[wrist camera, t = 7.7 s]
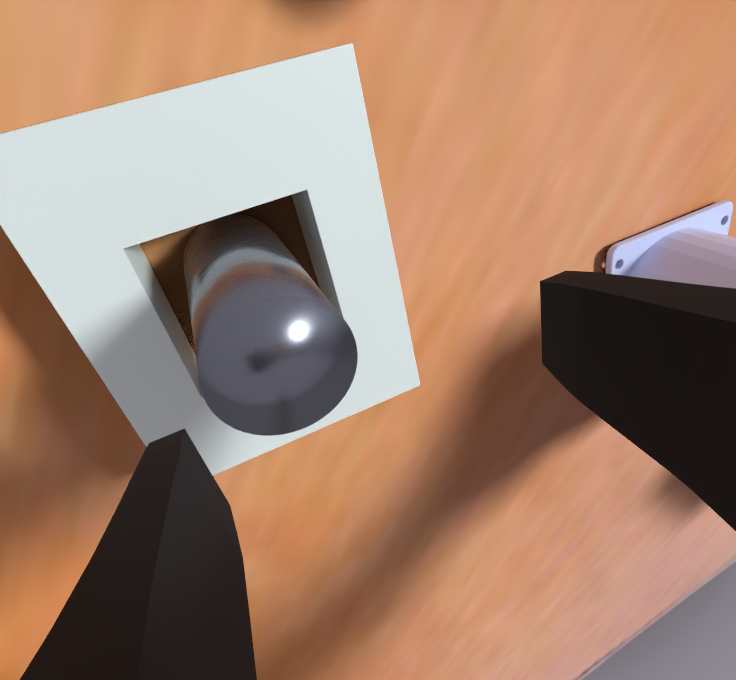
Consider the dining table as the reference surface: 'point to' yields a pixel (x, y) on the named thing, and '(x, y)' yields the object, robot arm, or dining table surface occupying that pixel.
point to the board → (199, 205)
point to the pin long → (263, 330)
